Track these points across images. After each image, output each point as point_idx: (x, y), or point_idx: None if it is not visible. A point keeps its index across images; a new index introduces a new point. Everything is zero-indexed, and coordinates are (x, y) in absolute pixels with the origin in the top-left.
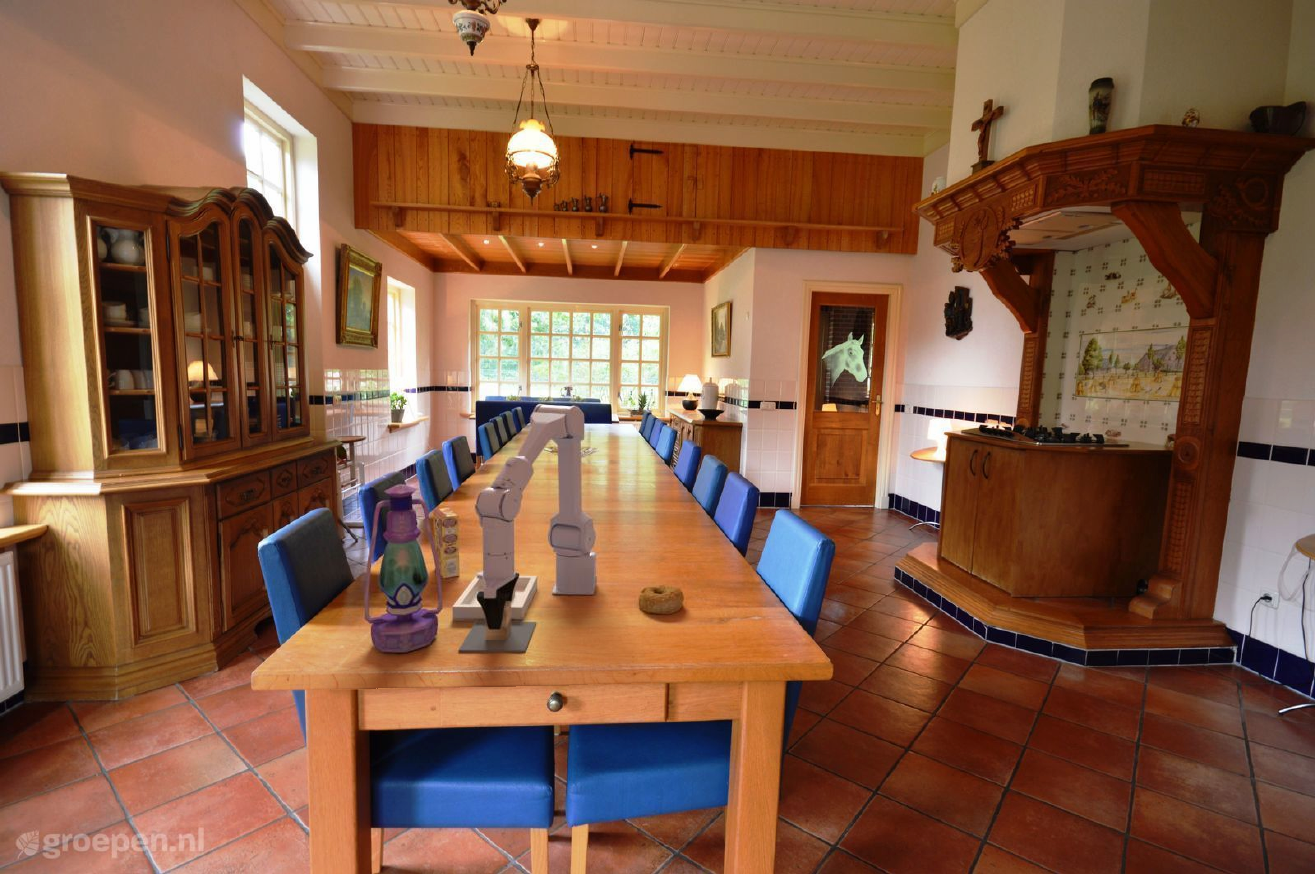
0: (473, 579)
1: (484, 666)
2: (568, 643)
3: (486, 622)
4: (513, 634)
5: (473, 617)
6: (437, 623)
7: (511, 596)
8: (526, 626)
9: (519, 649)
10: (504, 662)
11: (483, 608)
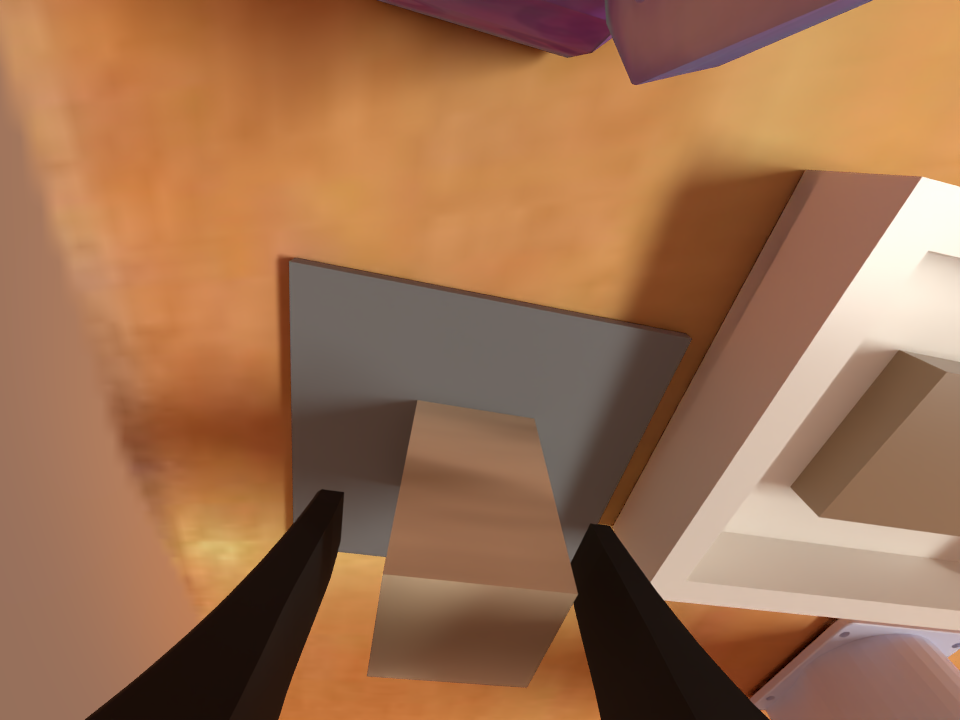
0: None
1: (141, 402)
2: (372, 639)
3: (403, 482)
4: None
5: (742, 325)
6: (583, 42)
7: (597, 697)
8: None
9: None
10: (198, 475)
11: (155, 668)
